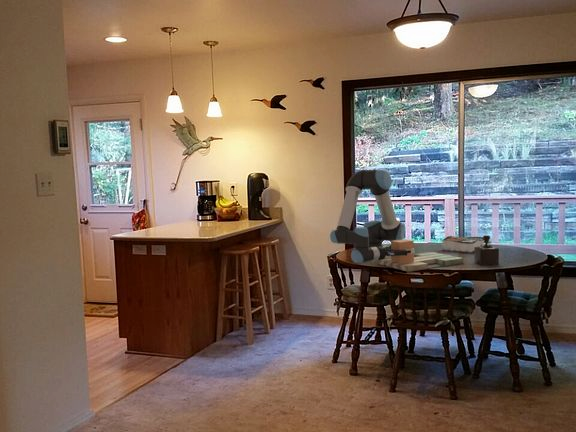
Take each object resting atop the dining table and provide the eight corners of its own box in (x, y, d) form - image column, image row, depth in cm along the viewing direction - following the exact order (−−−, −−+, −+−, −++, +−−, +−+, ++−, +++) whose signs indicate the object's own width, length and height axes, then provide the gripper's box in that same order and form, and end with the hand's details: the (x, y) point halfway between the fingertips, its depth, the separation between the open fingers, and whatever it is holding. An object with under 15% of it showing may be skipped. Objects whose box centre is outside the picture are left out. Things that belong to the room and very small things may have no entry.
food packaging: (437, 239, 370) (452, 235, 387) (438, 250, 371) (452, 245, 388) (474, 242, 354) (488, 237, 371) (474, 253, 355) (488, 248, 372)
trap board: (378, 264, 333) (378, 259, 333) (431, 256, 350) (431, 251, 350) (408, 271, 308) (408, 266, 307) (463, 263, 325) (463, 258, 325)
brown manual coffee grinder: (472, 262, 326) (472, 232, 324) (490, 261, 327) (490, 230, 325) (484, 267, 311) (484, 235, 309) (503, 266, 312) (503, 234, 310)
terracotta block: (391, 261, 324) (390, 240, 323) (405, 259, 329) (404, 239, 328) (399, 263, 317) (399, 242, 316) (413, 261, 322) (413, 240, 320)
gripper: (365, 257, 326) (395, 252, 335) (389, 263, 304) (421, 258, 314) (364, 244, 325) (395, 240, 334) (389, 249, 304) (420, 245, 313)
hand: (407, 249), depth 324 cm, fingers open, 11 cm apart
